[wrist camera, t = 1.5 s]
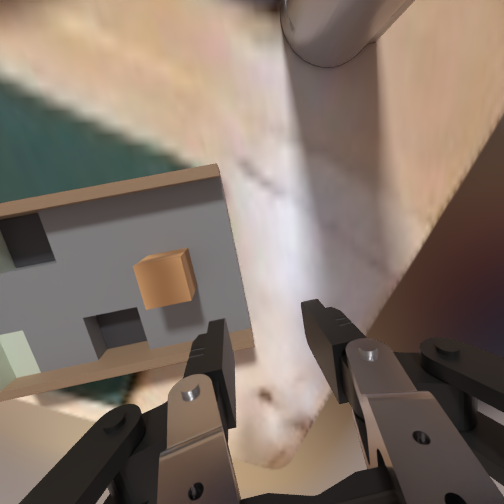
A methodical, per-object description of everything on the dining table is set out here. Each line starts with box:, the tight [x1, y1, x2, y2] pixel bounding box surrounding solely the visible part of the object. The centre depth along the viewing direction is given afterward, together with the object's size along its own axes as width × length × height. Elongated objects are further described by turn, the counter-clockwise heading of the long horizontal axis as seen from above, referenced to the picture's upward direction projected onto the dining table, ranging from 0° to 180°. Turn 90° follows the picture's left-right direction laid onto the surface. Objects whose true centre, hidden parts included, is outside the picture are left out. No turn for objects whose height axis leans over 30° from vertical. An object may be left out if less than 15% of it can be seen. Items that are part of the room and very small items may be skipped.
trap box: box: [0, 163, 255, 401], centre depth 25 cm, size 26×18×4 cm
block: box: [133, 248, 197, 310], centre depth 24 cm, size 4×4×4 cm
